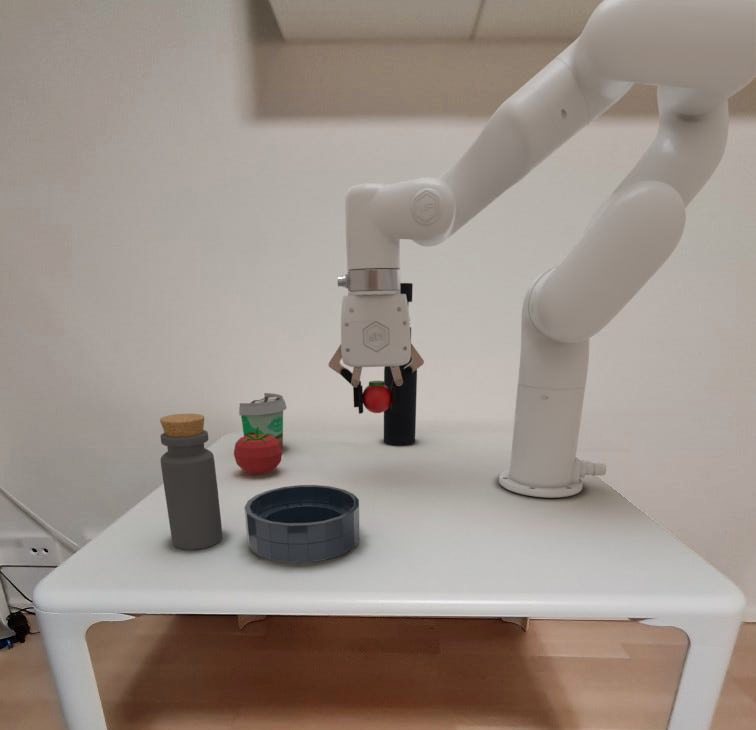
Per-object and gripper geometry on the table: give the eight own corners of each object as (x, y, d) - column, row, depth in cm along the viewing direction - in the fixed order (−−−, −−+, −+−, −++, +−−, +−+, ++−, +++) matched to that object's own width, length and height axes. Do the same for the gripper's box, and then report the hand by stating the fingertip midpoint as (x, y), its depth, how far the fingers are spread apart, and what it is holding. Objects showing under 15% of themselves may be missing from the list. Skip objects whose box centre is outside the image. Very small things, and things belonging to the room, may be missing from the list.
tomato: (292, 473, 91) (289, 428, 88) (249, 483, 86) (245, 435, 83) (268, 463, 96) (265, 420, 94) (227, 471, 92) (223, 426, 89)
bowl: (359, 520, 72) (358, 484, 70) (359, 566, 59) (359, 524, 58) (258, 521, 71) (255, 485, 70) (238, 568, 59) (234, 525, 57)
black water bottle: (389, 446, 107) (390, 282, 96) (379, 439, 113) (380, 283, 102) (419, 444, 109) (424, 283, 98) (409, 437, 114) (412, 283, 104)
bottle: (204, 526, 70) (190, 410, 64) (232, 538, 66) (220, 416, 61) (162, 541, 66) (143, 418, 60) (190, 554, 62) (172, 425, 57)
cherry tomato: (391, 409, 86) (390, 379, 85) (393, 415, 82) (392, 383, 80) (362, 410, 86) (361, 380, 85) (362, 416, 82) (361, 384, 80)
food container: (274, 460, 98) (271, 405, 94) (243, 458, 99) (238, 403, 96) (297, 443, 109) (295, 393, 106) (269, 442, 110) (265, 392, 107)
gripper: (312, 285, 74) (321, 418, 80) (436, 282, 74) (435, 414, 81) (316, 286, 81) (324, 408, 87) (429, 283, 81) (428, 405, 88)
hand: (377, 410), depth 84 cm, fingers closed on cherry tomato, 4 cm apart
